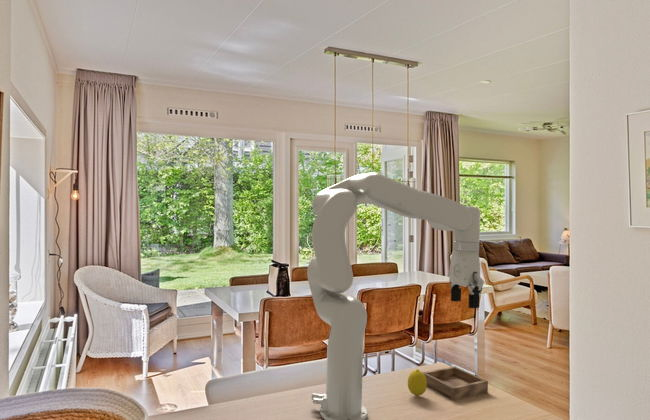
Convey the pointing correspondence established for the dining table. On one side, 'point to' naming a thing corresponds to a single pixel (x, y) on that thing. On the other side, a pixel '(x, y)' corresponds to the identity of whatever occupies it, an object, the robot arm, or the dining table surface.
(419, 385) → the lemon
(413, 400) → the dining table surface
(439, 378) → the bin
